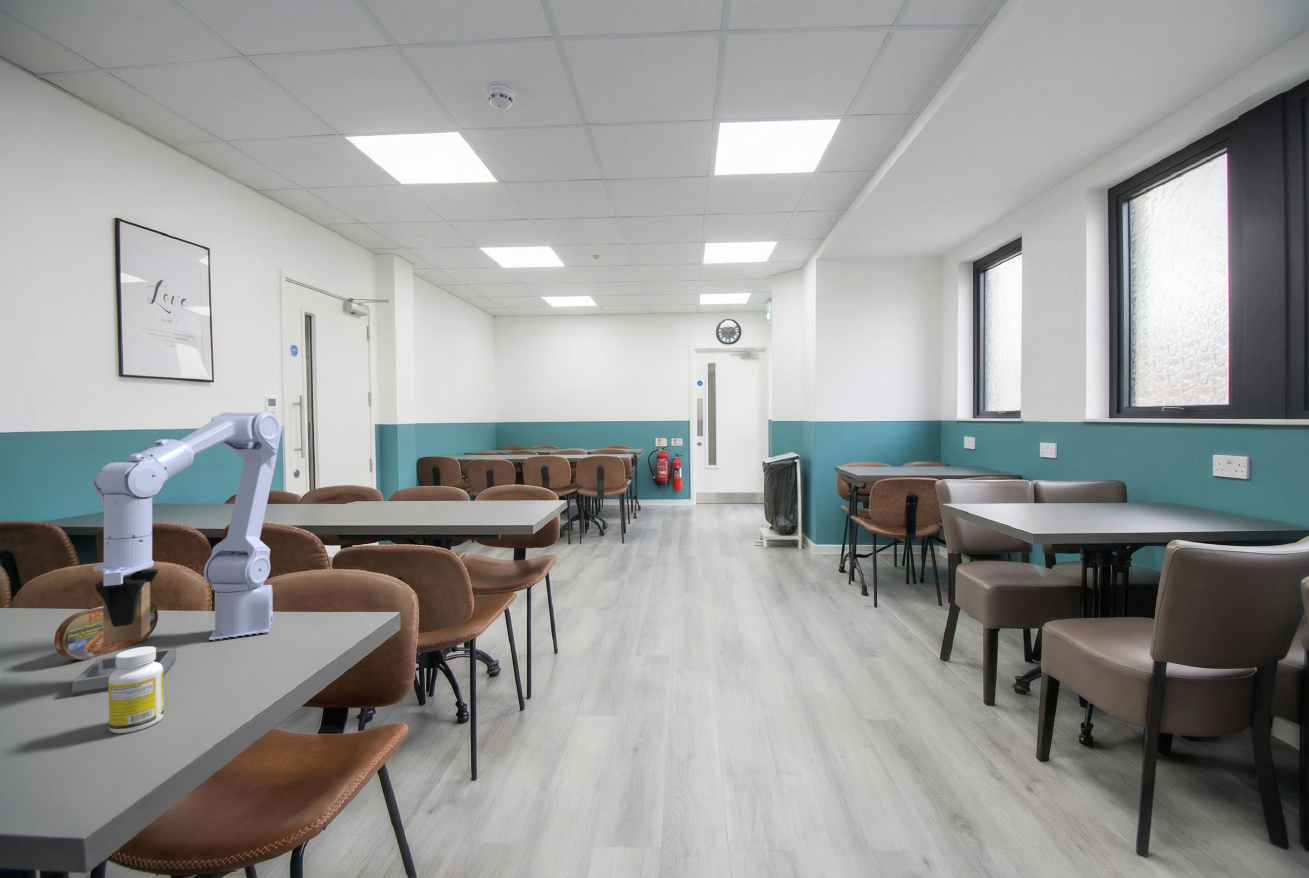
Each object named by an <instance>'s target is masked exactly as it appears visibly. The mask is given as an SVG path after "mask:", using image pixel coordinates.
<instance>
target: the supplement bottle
mask: <svg viewBox="0 0 1309 878" xmlns="http://www.w3.org/2000/svg"><path fill="white" fill-rule="evenodd" d="M156 651H157V648H156V647H155V646H141V647H140V646H139V647H134V648H131V649H130V648H129V649H127V650H126V649H125V650H123V651H121V652H118V653H117V654H116V655H115V657H116V663H115V664H116V667H117V668H118V670H116V671H114V672H113V673H112V674H111V675H110V677H109V682H108V685H109V691H108V726H109V729H108V730H109V731H110V732H112V733H114V734H127V733H133V732H137V731H140V730H143V729H146V728H149V727H151V726H153V725H156V723H158V722H159V721H161V720H162V719H163V718H164V708H165V707H164V677H163V666H162V665H161V664H160V663H158V662H154V660H155V659H156Z"/></svg>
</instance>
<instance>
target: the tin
mask: <svg viewBox="0 0 1309 878" xmlns="http://www.w3.org/2000/svg"><path fill="white" fill-rule="evenodd" d="M158 620H159V612H158V608H157V607H156V605H155V604H154V603H153V602H152V601H150V630H149V631H148V632H147V633H146V634H145V635H144V636H143V637H142V638H137V639H129V640H122V641H114V642H106V643H103V605H102V606H98V607H93V608H89V609H86V610H83V611H78V612H76V613H73V614H71V615H70V616H68V617H67V618H66V619H65V620H64V621H62V622H61V624H60V625H59V626H58V627H57V629H56V632H55V635H54V646H55V649H56V652H57V653H58V654H59V655H61V657H64V658H66V659H70V660H80V661H81V660H82V661H83V660H84V661H85V660H91V658H92V659H95V658H97V656H98V657H101V656H102V655H101V654H104V655H106V654H105V653H107V654H109V653H108V652H110V653H112V652H111V651H113V652H115V650H116V651H118V649H119V650H121V648H122V649H124V647H125V648H127V646H128V647H131V646H135V645H136V644H139V643H141V642H144V640H146V639H147V638H149V636H150V635H152V633H153V632H154V630H155V629H156V627H157V623H158ZM100 655H101V656H100ZM94 657H95V658H94Z"/></svg>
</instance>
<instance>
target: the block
mask: <svg viewBox="0 0 1309 878" xmlns="http://www.w3.org/2000/svg"><path fill="white" fill-rule="evenodd" d="M102 600H103V599H102ZM150 602H151V586H150V582H145V583H144V585H143V587H142V589H141V591H140V593H139V596H138V600H137V604H136V610H135V615H134V619H133V622H132V624H131V625H124V626H115V627H114V626H113V624H112V622H111V618H110V615H109V612H108V609H107V606H106V604H105V602H104V600H103V605H102V606H103V643H106V642H114V641H122V640H129V639H137V638H142V637H143V636H144V635H145V634H146V633H147V632H148V631H149V630H150Z"/></svg>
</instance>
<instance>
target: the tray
mask: <svg viewBox="0 0 1309 878" xmlns="http://www.w3.org/2000/svg"><path fill="white" fill-rule="evenodd" d="M175 661H177V648H176V647H174V648H166V649H160V650H156V659H155V660H154V662H158V663H160V664H161V665H162V666H163V678H164V677H165V676H166V675H167V673H168V672H169V671H170V670H171V668H172V667H173V666H174V664H175V663H176V662H175ZM174 662H175V663H174ZM115 663H116V656H111V657H110V656H109V657H103V658H97V659H96V660H95V661H94V662H92V664H90V665H89V666H88V667H87V668H86V669H85V670H84V671H82V673H80V674H79V675H78V676H77V677H76V678H75V679H73V680H72V682H71V683H72V684H71V689H72V690H71V691H72V692H71V693H72V694H71V695H72V697H77V696H78V697H79V696H83V695H89V694H95V693H96V694H97V693H102V692H109V685H108V682H109V677H110V675H111V674H112V673H113V672H114V671H116V670H118V668H117V667H116V664H115ZM171 666H172V667H171Z"/></svg>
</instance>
